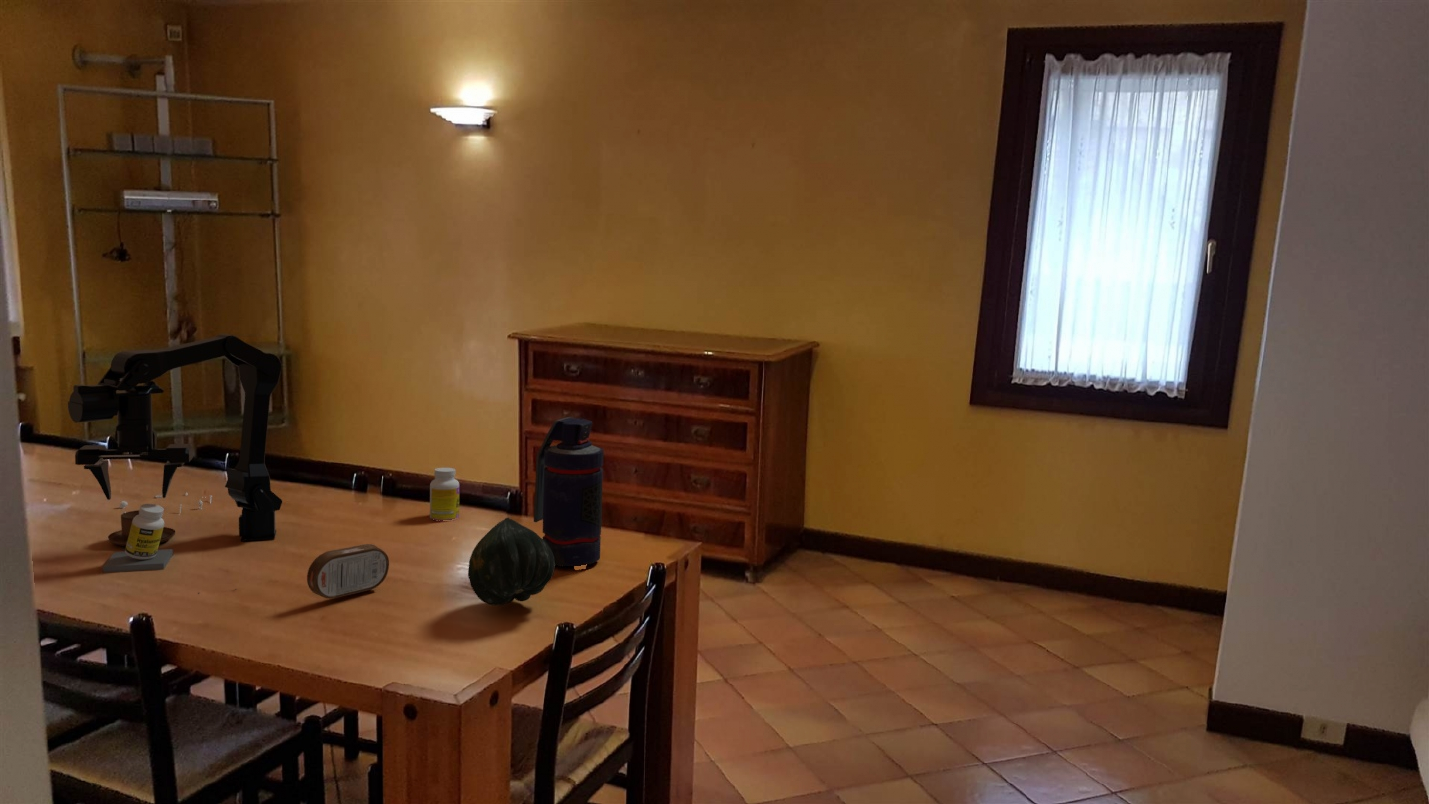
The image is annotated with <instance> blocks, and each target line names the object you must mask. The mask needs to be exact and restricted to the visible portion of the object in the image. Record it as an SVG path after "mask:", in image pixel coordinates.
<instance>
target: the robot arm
mask: <svg viewBox="0 0 1429 804" xmlns="http://www.w3.org/2000/svg"><path fill="white" fill-rule="evenodd" d="M222 357H224V358H225V359H227V361H229V362H230V363H231V364H233V365H234V366H236V367H238V373H239V380H240V384H241V386H242V389H243V391H244V403H243V415H242V428H241V437H240V438H241V439H240V448H239V458H238V462H237V463H236V465H235V466H234V468H231V467H230V468H227V470H226V476H227V477H226V478H227V479H226V483H225V485H224V488H227V494H228V496H230V497H231V499H232V500H234V502H235V504H236V507H237V508H242V509H241V514H240V515H239V517H238V537H240V541H241V542H244V541H245V542H246V541H261V540H262V541H264V540H265V541H266V540H267V541H268V540H275V539H276V535H277V529H276V511H280V510H281V507H282V504H283V499H282V498H280V497H279V496H278V495H277V494H276V493H274V492H273V491H272V490H271V488H272V487H271V476H270V473H269V471H268V468H267V466H266V464H265V461H266V459H265V458H266V449H267V448H266V447H267V438H268V437H267V436H268V426H269V425H268V424H269V415H270V404H271V403H270V402H271V396H272V394H273V392H274V390H275V389H276V387H277V386H278V385H279V381H280V376H281V373H282V370H283V366H282V365H283V363H282V361H281V360H280V358H279V357H278V356H277V355H275V354H274V353H270V352H264V351H263V350H260V349H259V348H257V347H255V346H253V345H251V344H249V343H246V342H245V341H243V340H242V339H240V338H239V337H237V335H232V334H223V333H220V334H218V335H216V336H213V337H208V338H205V339H200V340H196V341H191V342H188V343H183V344H179V345H175V346H170V347H166V348H161V349H136V350H135V349H134V350H123V351H119V352H117V353H116V354H114V356H113V358H112V360H111V362H110V367H109V369H108V370H107V371H106V372H105V373H104V374H103V376H102V378H101V379H100V380H99V382H98V383H97V384H94V385H93V384H91V385H89V384H88V385H87V384H86V385H84V384H73V391H72V392H71V394H70V397H69V400H68V402H67V409H68V414H69V417H70V418H71V420H72V421H73V422H74V423H75V424H77V423H90V422H101V421H111V420H113V418H114V416H115V417H116V419H117V420H116V422H117V425H116V427H115V431H114V442H115V443H117V449H107V447H106V445H105V444H103V445H102V444H99V445H98V444H96V445H95V444H93V445H92V444H91V445H90V444H89V445H87V444H86V445H83V446H82V447H80V448H78V449H77V450H76V451H75V454H74V465H77V466H83V470H89V471H90V472H91V473H92V475H93V477H94V478H95V479H96V480H97V482H98V485H99V486H100V487H101V490H102V491H103V493H104V496H105V497H106V500H108V501H109V500H111V499H112V490H111V489H112V488H111V482H110V474H109V460H141V459H142V460H143V459H145V460H147V459H149V460H150V459H165V460H166V463H164V465H163V477H162V488H161V489H162V490H161V493H162V494H161V495H162V496H163V497H162V499H166V497H167V495H168V491H169V488H170V486H171V482H172V480H173V478H174V475H175V473H176V470H177V468H182V467H183V466H184V465H185V464H186V463H190V462H191V461H192V459H193V458H194V448H193V446H192V445H191V444H190V443H172V444H171V443H170V444H169V445H168V446H166V448H157V441H158V440H157V439H158V432H157V431H156V430H155V429H154V426H153V402H152V401H153V395H155V394H163V393H164V392H165V390H164V388H162V387H161V386H159V385H158V384H157V383H156V382H155V381H154V380H156V379H158V378H161V377H162V376H163V375H166V373H168V372H170V371H171V370H174V369H178V368H182V367H186V366H190V365H193V364H197V363H202V362H206V361H209V360H214V359H217V358H222ZM152 394H153V395H152Z"/></svg>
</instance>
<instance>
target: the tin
mask: <svg viewBox="0 0 1429 804" xmlns="http://www.w3.org/2000/svg"><path fill="white" fill-rule="evenodd" d="M389 558H390V557H389V556H388V554H387V553H386V552H385V551H384V550H383V549H381V548H380V547H378V546H377V545H375V544H372V543H364V544H359V545H353V546H349V547H343V548H338V549H332V550H327V551H324V552H323V553H321V554H319V555H318V556H317V557H316V558H314V560H312V562H311V564H310V566H309V568H308V570H307V574H306V583H307V586H308V588H309V589H310V591H311V592H312V593H314V594H315V595H317V596H320V597H322V598H325V599H327V600H328V599H331V600H332V599H336V598H342V597H345V596H349V595H354V594H358V593H363V592H368V591H371V590H374V589H376V588H378V587H379V586H380V585H381V584H382V583H383V582H384V581H385V579H386V577H387V575H388V573H389V570H390V569H389V568H390V559H389Z"/></svg>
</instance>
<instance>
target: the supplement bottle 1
mask: <svg viewBox="0 0 1429 804" xmlns="http://www.w3.org/2000/svg"><path fill="white" fill-rule="evenodd" d="M138 510H139V515H136V516H135V517H134V518H133V521H132V524H131V529H130V533H129V537H128V540H127V544H126V546H125V548H124V551H125V553H126V554H127V555H128V556H130V557H132V558H135V559H151V558H153V557H155V556H156V554H157V550H159V546H160V544H161V543H160V539H161V535H162V532H163V528H164V527H165V521H164V520H165V519H163V515H164V512H165V511H164V510H165V509H164V507H162V506H161V505H159V504H156V503H143V504H142V505H140V507H139V509H138ZM161 517H162V518H161Z"/></svg>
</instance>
